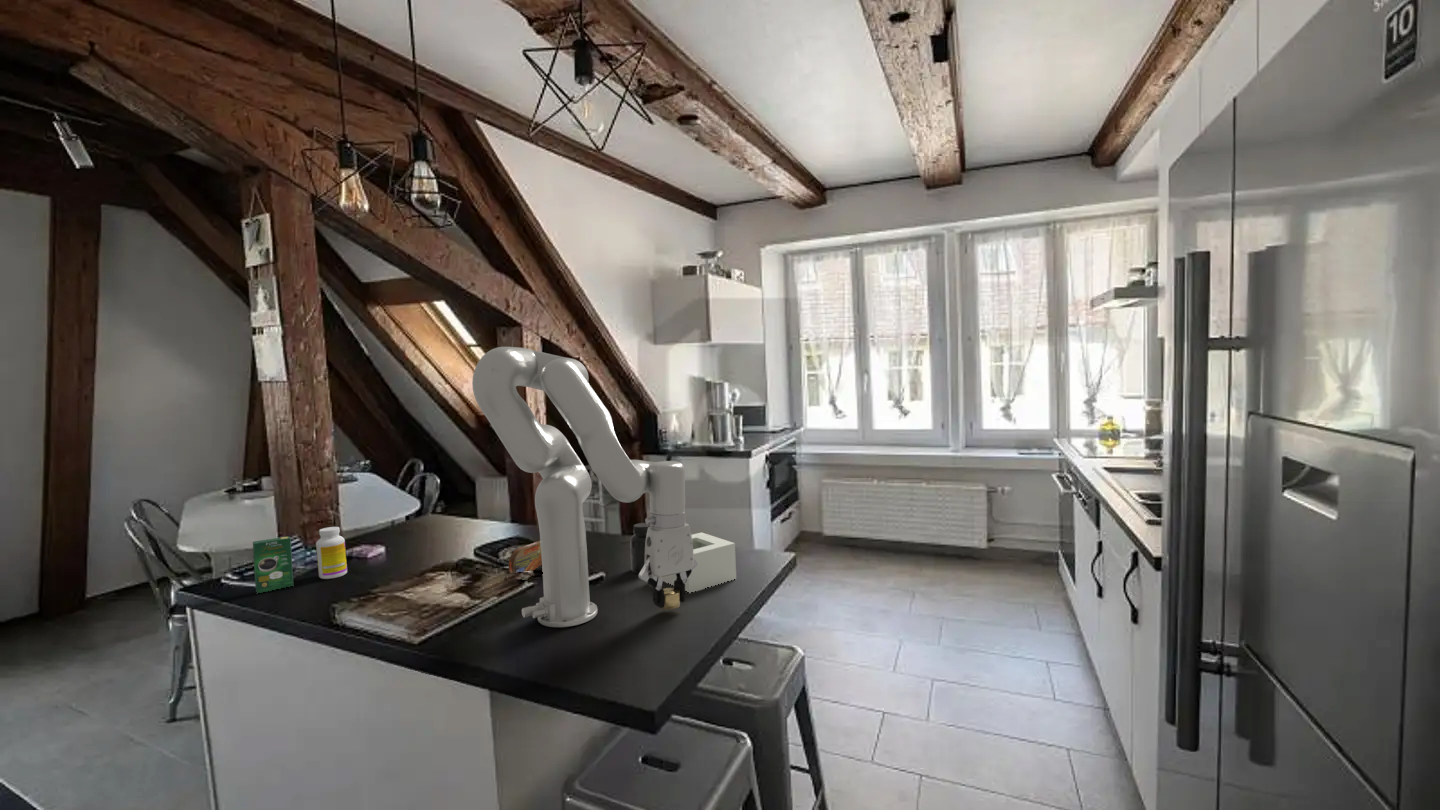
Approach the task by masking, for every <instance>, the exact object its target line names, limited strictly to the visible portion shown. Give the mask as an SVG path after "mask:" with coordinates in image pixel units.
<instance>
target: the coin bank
mask: <svg viewBox="0 0 1440 810" xmlns="http://www.w3.org/2000/svg"><path fill="white" fill-rule="evenodd" d="M691 536H692V543H693V554H694V559H695V560H696V562H697V566H696V567H695V568H694V570H693V571H692V572H691V574H690V575H689V577H688V578H687V583H685V591H687V592H689V593H688V594H692V593H691V592H693V593H695V591H696V592H699V591H702V590H705V588H706V589H708V588H707V587H709V588H712V587H715V585H716V586H718V584H719V585H722V584H725V583H728V582H727V581H729V582H732V581H734V579H735V580H737V566H736V565H737V562H736V543H735V542H732V541H730V540H726V539H723V538H720V537H718V536H714V535H711V534H708V533H706V532H705V533H704V532H702V531H701V532H698V533H692V534H691ZM675 580H676V576H675V574H673V575H669V576H665V577H663V582H664V583H666V584H668V583H669V584H668V585H670V584H671V586H672V585H673V586H672V587H674V581H675ZM731 580H732V581H731ZM724 582H725V583H724ZM721 583H722V584H721ZM711 586H712V587H711ZM687 592H686V593H687Z"/></svg>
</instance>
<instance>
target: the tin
mask: <svg viewBox="0 0 1440 810" xmlns="http://www.w3.org/2000/svg"><path fill="white" fill-rule="evenodd" d="M541 565H542V556H541V544H540V540H538V541H535V542H533V543H530V544H527V545H524V546H522V547H518V548H516V549H515V550H514V551H513V552H512V553H511V554H510V556H509V558H508V572H509V574H510V573H517V572H523V571H533V570H535V569H536V568H538V567H539V566H541Z"/></svg>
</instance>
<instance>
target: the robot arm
mask: <svg viewBox="0 0 1440 810" xmlns="http://www.w3.org/2000/svg"><path fill="white" fill-rule="evenodd" d="M517 387H525V388H526V387H527V388H530V389H535V390H539V391H544V392H545V394H546V396H547V397H548V398H549V400H550V401H551V403H552V404H553V405H554V406H555V408H556V409H557V411H558V412H559V414H560V415H561V417H562V418H563V419H564V422H566V423H567V425H568V426H569V428H570V429H571V431H572V432H573V434H574V435H575V438H576V439H577V441H578V442H577V443H578V445H579V446H580V448H581V450H582V452H583V454H584V457H585V458H586V460H587V463H588V464H589V466H590V468H591V469H592V471H593V472H594V474H595V475H596V477H597V479H599V481H600V483H601V484H602V486H604V488H605V489H606V490H607V492H608V494H610V496H612V498H614V499H615V500H617V501H618V502H621V503H633V502H635V501H637V500H638V499H640V498H641V497H642V496H643V494H645V493H649V516H648V517H647V518H645V519H644V521H645V522H644V523H646V524H650V527H648V530H647V535H646V542H645V564H644V566H643V568H642V570H641V571H640V573H639V574H637V576H638V578H639V579H640V580H642V581H644V582H646V584H648V585H649V586H650V587H651V588H652V601H653V605H655V606H656V607H658V608H660V609H661V608H663V607H664V590H663V589H664V588H662V587H663V582H664V581H663V577H665V576H669V575H673V574H675V576H676V580H675V581H674V586H673V588H675V589H678V590H679V591H680V603H684V602H685V597H686V592H685V583H687V578H688V577H689V575H690V574H691V572H692V571H693V570H694V568H695V567H696V566H697V562H696V560H695V559H694V554H693V543H692V536H691V535H692V532H691V527H690V524H689V523H687V522H686V470H685V467H684V464H683V463H681V462H679V461H675V460H673V461H672V460H663V461H650V460H649V461H648V460H641V459H630V458H629V456H628V455H627V454H626V452H625V450H624V448H623V447H622V446H621V443H620V442H619V440H618V437H617V435H616V431H615V429H614V423H613V418H612V415H611V413H610V411H609V410H608V408H607V407H606V406H605V405H604V403H603V401H602V399H600V397H599V396H598V394H597V393H596V392H595V390H594V388H593V387H592V385H590V383H589V373H588V370H587V368H586V366H584V364H583V363H582V362H580V361H579V360H577V359H575V358H571V357H565V356H561V355H556V354H551V353H547V352H543V351H538V350H534V349H530V348H525V347H516V346H499V347H498V346H497V347H495V348H492V349H490V350H489V351H487V352H486V353H485V354H483V356H481V357H480V359H479V360H478V361H477V364H476V366H475V369H474V371H473V375H472V392H473V395H474V396H473V397H474V398H475V401H476V403H477V405H478V407H479V408H480V410H481V411H482V413H483V415H484V416H485V417H486V419H487V421H488V422H489V423H490V425H491V427H492V428H493V430H494V432H495V434H496V435H497V437H498V439H499V440H500V441H501V443H502V445H503V446H504V448H505V449H506V451H507V453H508V454H509V455H510V457H511V459H512V461H513V462H514V463H515V465H516V466H517V467H518V468H519V469H520V470H522V471H523V472H526V473H528V474H529V473H531V474H534V473H535V474H536V473H539V475H540V476H541V478H542V480H540V482H539V484H538V486H537V488H536V489H535V495H534V507H535V511H536V516H537V521H538V528H539V529H538V530H539V541H540V544H541V556H542V572H543V574H542V585H543V589H542V590H543V596H542V597H539V602H537V603H535V605H528V606H525V607H522V608H521V615H522V617H523V618H527V617H531V616H532V618H533V619H537V622H538V623H540V624H541V625H542V626H544V627H549V628H569V627H573V626H579V625H581V624H584V623H587V622H589V621H592V620H593V619H594V618H596V616H597V614H598V606H597V604H595V603H594V602H592V601H590V598H591V597H590V585H589V584H590V581H589V580H590V579H589V565H588V564H589V563H588V549H587V545H588V544H587V532H586V531H587V530H586V525H585V518H584V517H585V516H584V512H583V503H584V502H586V500H587V499H588V497H590V494H591V492H592V488H593V487H592V486H593V485H592V479H591V475H590V473H589V472H588V469H587V468H586V466H585V465H584V463H583V462H582V461H581V459H580V457H579V456H578V454H577V453H576V452H575V450H574V448H573V447H572V446H571V444H570V442H569V440H568V439H567V437H566V436H565V435H564V434H563V433H562V432H561V431H560V430H559V429H558V428H556V427H555V426H552V425H550V424H541V423H540V421H539V420H538V418H536V416H535V414H534V413H533V411H532V410H531V408H530V406H529V404H527V402H526V401H525V399H523V397H521V395H520V394H519V392H518V390H517ZM649 574H651V576H649Z"/></svg>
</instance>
